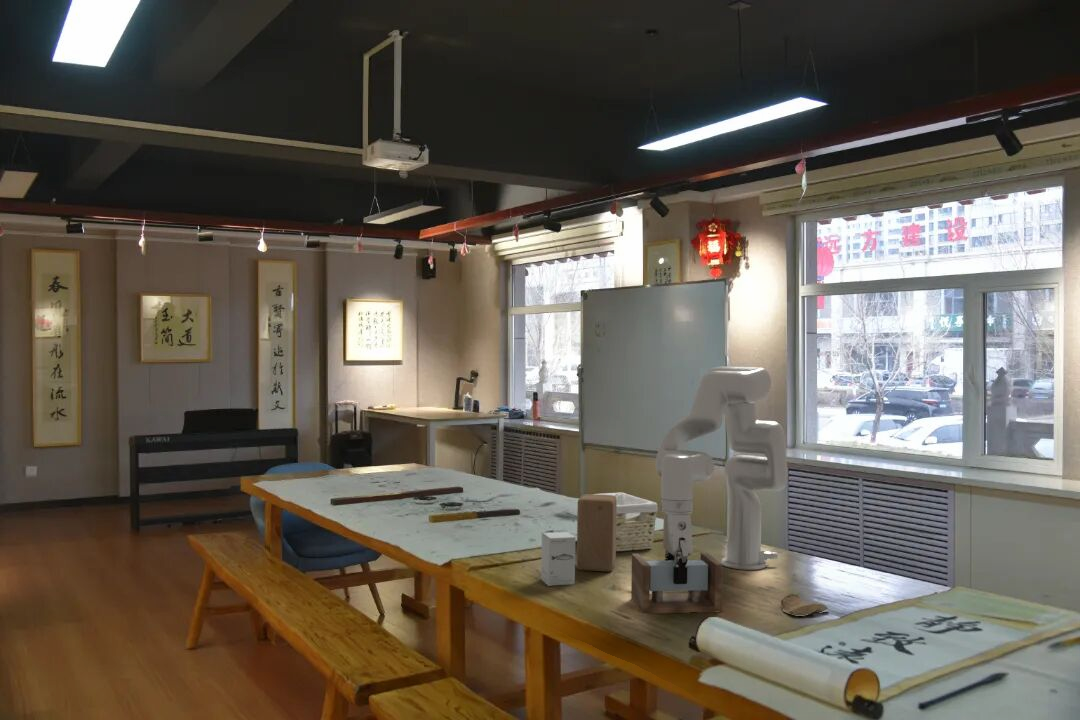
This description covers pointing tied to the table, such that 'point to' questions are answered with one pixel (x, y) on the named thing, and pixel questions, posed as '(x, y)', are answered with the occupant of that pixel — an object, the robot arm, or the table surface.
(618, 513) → the storage basket
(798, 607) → the pottery shard
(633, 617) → the table surface
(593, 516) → the wooden block
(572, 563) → the supplement box
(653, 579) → the grey rectangular block
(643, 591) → the peg frame
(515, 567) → the table surface
